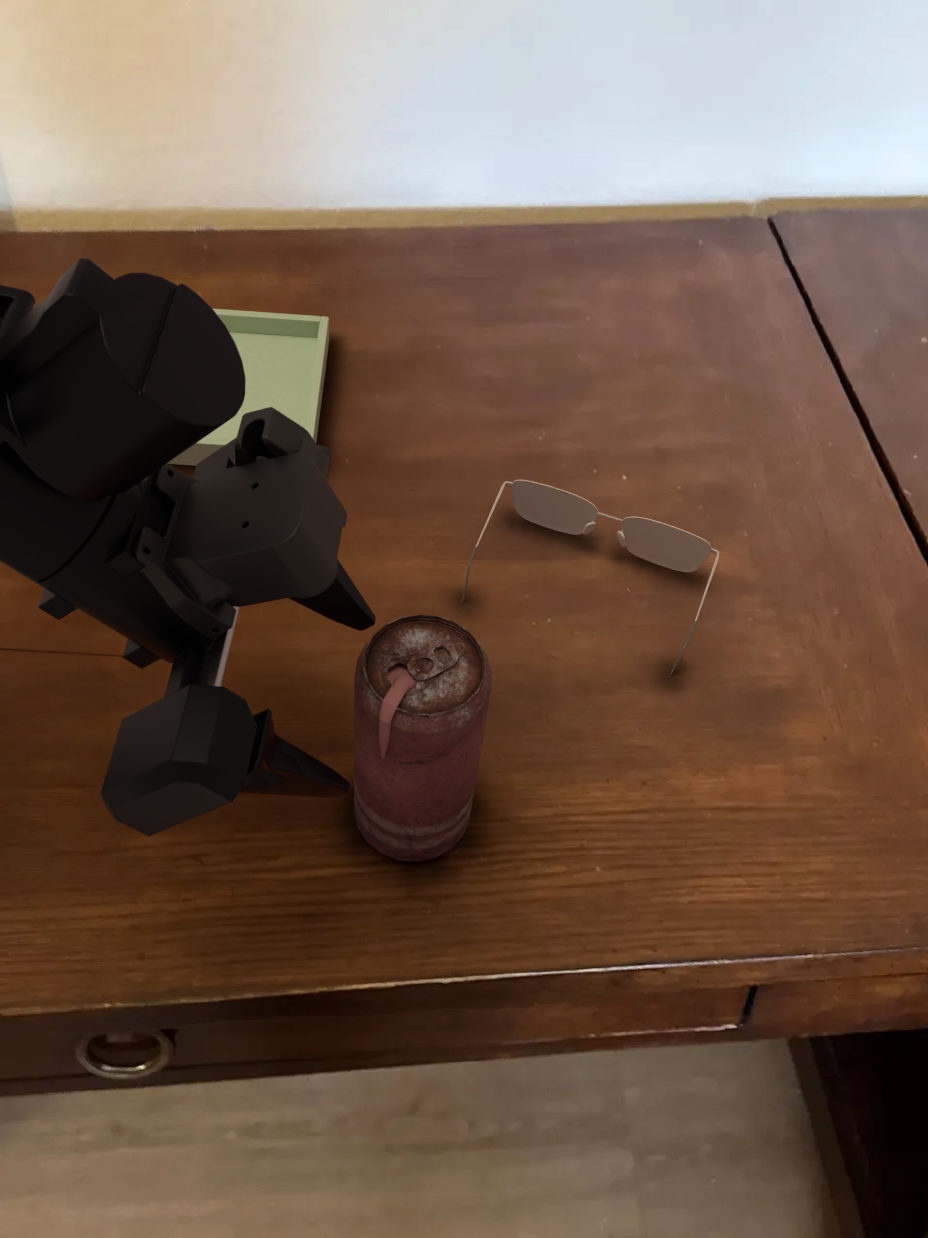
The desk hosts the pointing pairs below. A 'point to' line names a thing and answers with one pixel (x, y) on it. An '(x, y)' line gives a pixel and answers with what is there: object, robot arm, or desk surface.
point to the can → (418, 735)
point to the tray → (273, 372)
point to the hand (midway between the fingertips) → (357, 704)
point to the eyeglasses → (636, 532)
